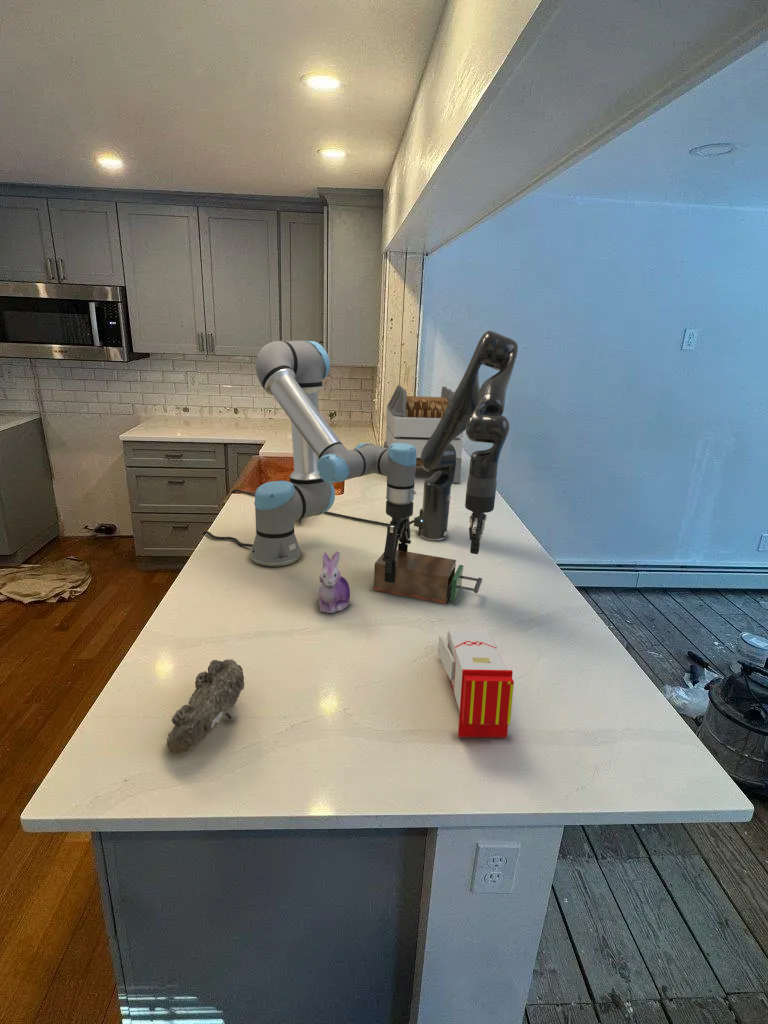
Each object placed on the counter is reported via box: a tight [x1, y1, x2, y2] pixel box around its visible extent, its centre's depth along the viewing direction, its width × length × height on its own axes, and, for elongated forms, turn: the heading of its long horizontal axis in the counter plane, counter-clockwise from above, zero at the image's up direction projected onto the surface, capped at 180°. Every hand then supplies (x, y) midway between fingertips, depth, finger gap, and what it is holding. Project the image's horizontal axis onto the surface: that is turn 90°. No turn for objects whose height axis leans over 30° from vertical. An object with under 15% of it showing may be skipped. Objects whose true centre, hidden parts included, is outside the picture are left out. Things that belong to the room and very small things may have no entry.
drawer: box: [447, 564, 483, 602], centre depth 159 cm, size 25×10×6 cm, turn 72°
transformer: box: [383, 384, 465, 484], centre depth 268 cm, size 34×33×41 cm
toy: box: [437, 628, 515, 738], centre depth 117 cm, size 12×13×30 cm
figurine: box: [318, 551, 351, 614], centre depth 147 cm, size 9×10×15 cm
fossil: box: [166, 658, 245, 754], centre depth 106 cm, size 22×10×15 cm
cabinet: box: [373, 549, 457, 605], centre depth 160 cm, size 21×11×8 cm, turn 72°
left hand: (395, 572), depth 162 cm, fingers closed on cabinet, 11 cm apart
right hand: (474, 552), depth 153 cm, fingers closed
